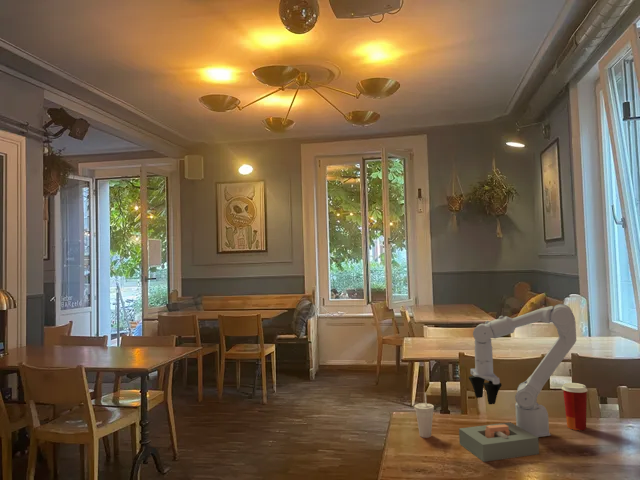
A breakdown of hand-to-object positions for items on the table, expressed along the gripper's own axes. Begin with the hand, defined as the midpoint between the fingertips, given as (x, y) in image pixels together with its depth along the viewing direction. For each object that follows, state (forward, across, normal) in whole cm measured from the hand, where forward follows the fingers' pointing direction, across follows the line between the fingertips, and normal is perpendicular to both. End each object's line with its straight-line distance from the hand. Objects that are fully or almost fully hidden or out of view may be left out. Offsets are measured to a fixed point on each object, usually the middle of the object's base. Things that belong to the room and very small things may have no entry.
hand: (485, 400), depth 170 cm
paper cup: (+10, +9, +28) cm, 31 cm away
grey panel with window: (+10, +16, -6) cm, 19 cm away
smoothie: (+10, -2, -22) cm, 24 cm away
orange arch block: (+9, +16, -6) cm, 19 cm away
